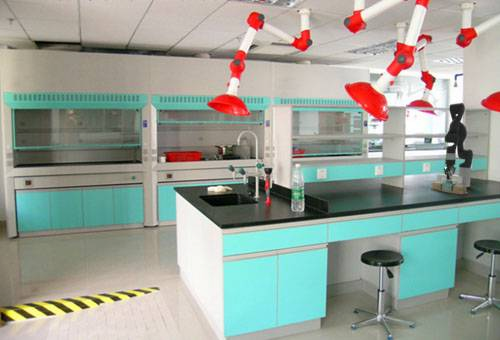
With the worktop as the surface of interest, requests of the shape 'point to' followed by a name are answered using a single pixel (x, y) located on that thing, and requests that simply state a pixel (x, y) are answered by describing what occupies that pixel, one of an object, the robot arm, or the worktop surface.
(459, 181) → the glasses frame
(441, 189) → the display stand
